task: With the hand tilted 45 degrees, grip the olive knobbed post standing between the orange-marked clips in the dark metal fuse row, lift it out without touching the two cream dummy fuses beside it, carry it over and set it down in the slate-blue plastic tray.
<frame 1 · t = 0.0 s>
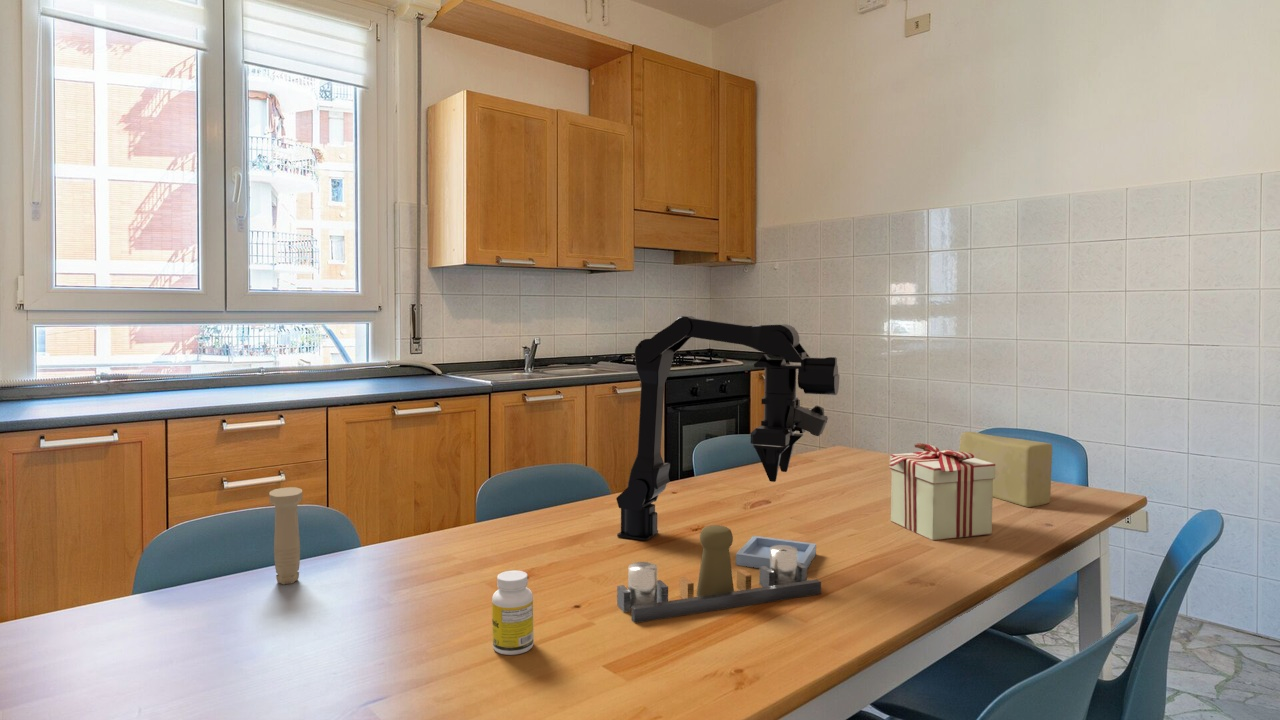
hand: (778, 476, 137), 15 cm above the table, tool pointing down, fingers open, 9 cm apart
handle: (287, 582, 122), on the table
tray: (776, 559, 135), on the table
cheese: (997, 497, 185), on the table
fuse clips: (715, 594, 118), on the table
olive knobbed post: (715, 596, 118), on the table
supplement bottle: (513, 648, 99), on the table
gift box: (936, 530, 155), on the table
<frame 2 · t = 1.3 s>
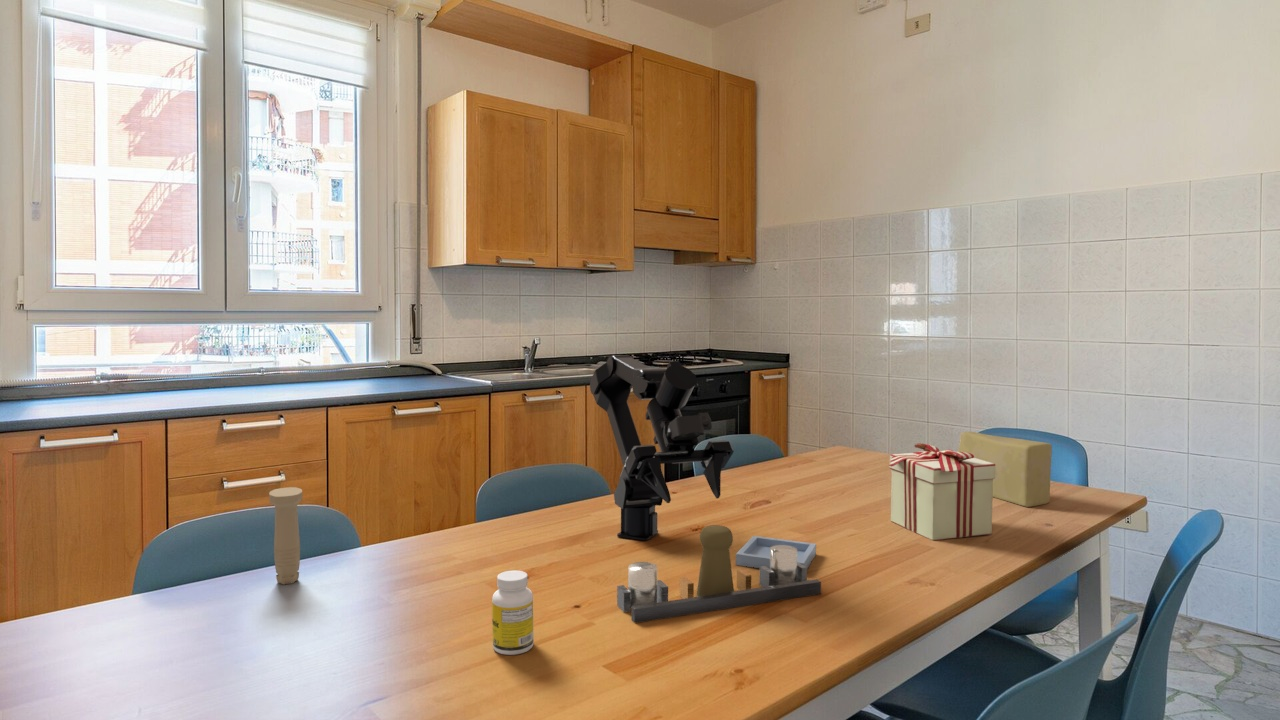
hand: (694, 499, 125), 13 cm above the table, tool tilted 45°, fingers open, 9 cm apart
nothing on the table moved.
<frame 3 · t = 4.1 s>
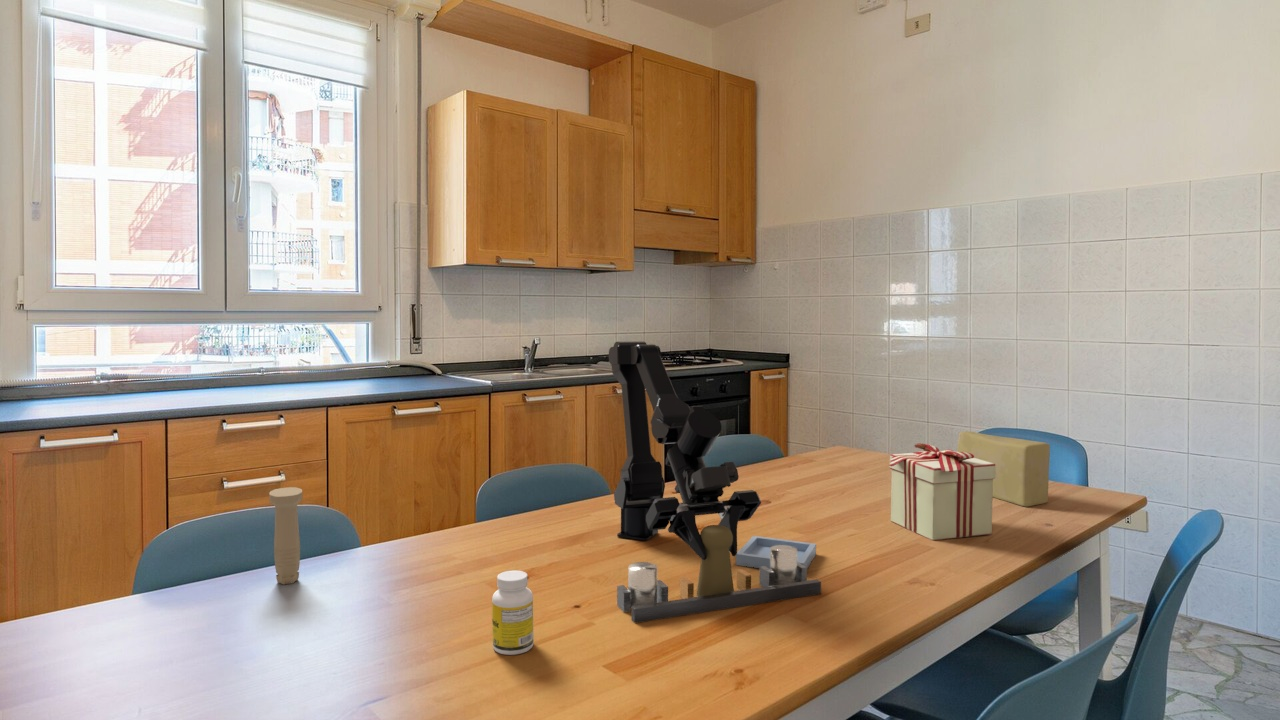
hand: (720, 556, 116), 7 cm above the table, tool tilted 45°, fingers closed on olive knobbed post, 5 cm apart
olive knobbed post: (715, 595, 118), on the table, touching gripper
everything else where it was.
when the fingers open (8 cm above the table, at t = 9.3 s): olive knobbed post stays where it is, resting on tray.
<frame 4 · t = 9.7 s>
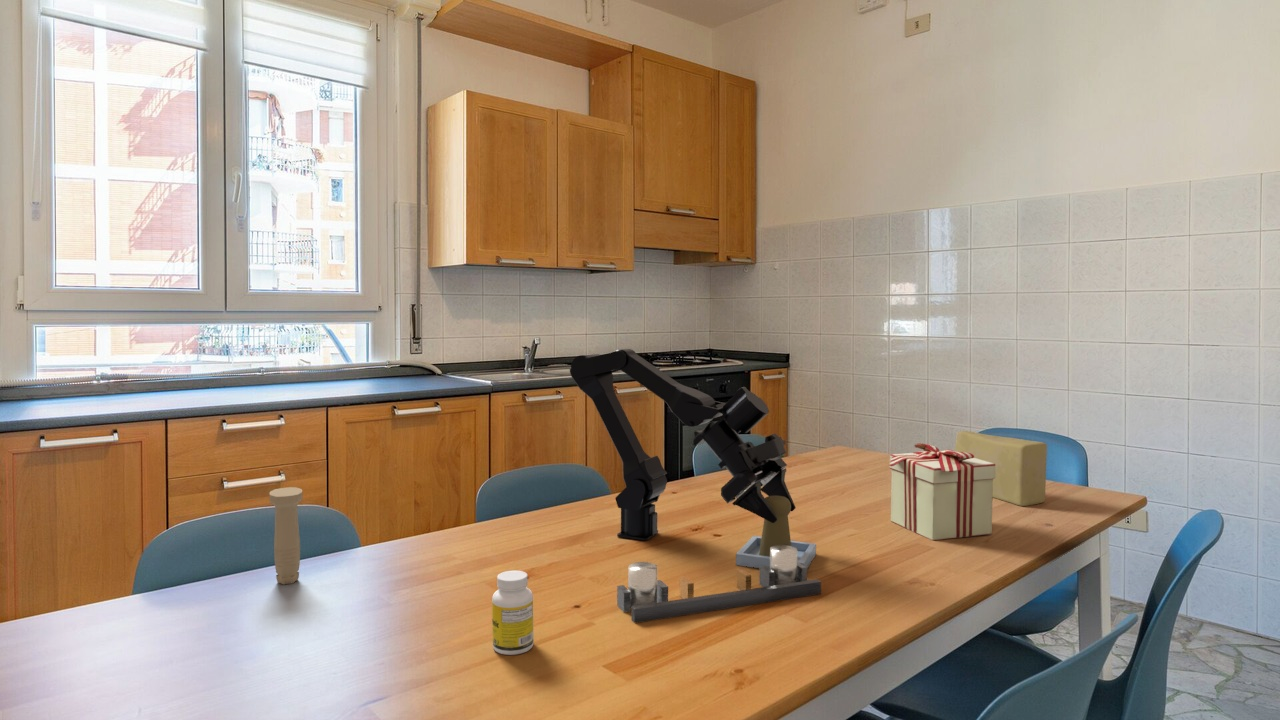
hand: (785, 515, 134), 8 cm above the table, tool tilted 45°, fingers open, 9 cm apart
olive knobbed post: (775, 557, 135), resting on tray
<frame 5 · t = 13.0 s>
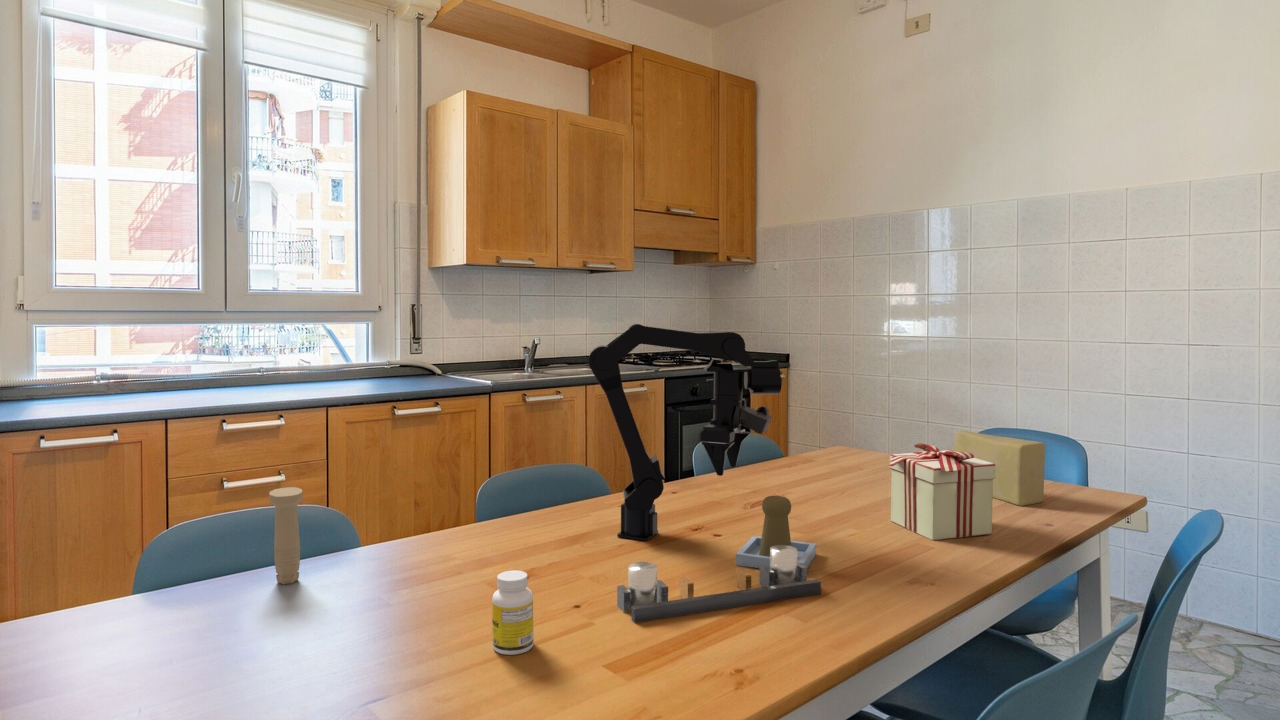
hand: (726, 471, 150), 13 cm above the table, tool pointing down, fingers open, 9 cm apart
at the end: olive knobbed post inside the target area on the tray (0.2 cm from its centre), point 0.4 cm above the tray's base; olive knobbed post tilted 0°; the gripper is holding nothing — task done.
